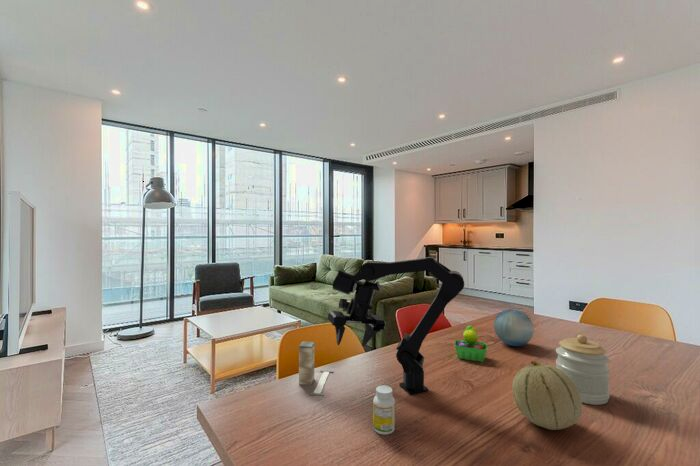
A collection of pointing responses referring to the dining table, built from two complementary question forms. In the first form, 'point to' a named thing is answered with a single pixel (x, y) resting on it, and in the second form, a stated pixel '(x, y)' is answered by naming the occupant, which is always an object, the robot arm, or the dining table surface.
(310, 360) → the beige tall block
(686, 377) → the dining table surface
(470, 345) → the fruit basket
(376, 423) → the supplement bottle
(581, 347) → the jar
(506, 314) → the decorative ball
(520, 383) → the cantaloupe
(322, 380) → the tape line
